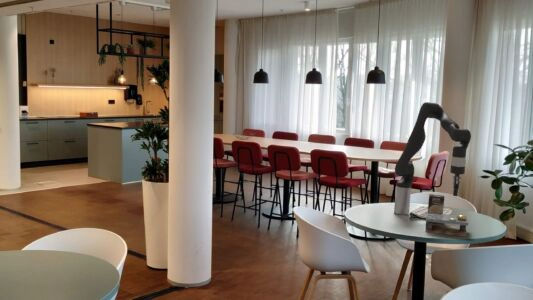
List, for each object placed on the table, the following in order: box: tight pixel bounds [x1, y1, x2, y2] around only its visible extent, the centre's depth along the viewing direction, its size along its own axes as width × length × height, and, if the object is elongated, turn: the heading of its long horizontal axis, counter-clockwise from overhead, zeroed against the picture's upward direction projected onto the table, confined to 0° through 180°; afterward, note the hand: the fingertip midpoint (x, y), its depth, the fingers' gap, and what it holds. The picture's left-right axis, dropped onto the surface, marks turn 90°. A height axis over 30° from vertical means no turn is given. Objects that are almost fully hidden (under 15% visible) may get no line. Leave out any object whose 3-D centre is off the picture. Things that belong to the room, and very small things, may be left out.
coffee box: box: [426, 193, 445, 225], centre depth 329 cm, size 9×6×16 cm
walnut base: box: [425, 215, 468, 237], centre depth 310 cm, size 22×17×6 cm
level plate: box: [425, 212, 469, 227], centre depth 309 cm, size 22×16×4 cm
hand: (455, 195), depth 303 cm, fingers closed
